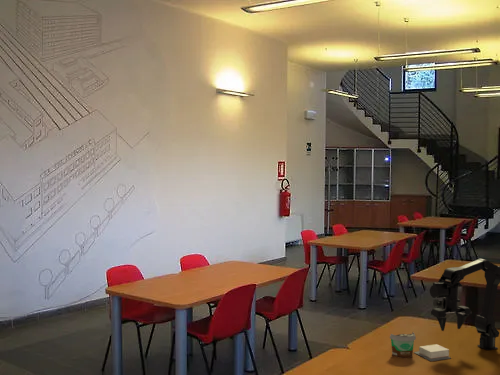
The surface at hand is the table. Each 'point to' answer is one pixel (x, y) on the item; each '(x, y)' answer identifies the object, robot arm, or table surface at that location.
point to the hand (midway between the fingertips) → (450, 329)
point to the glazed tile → (434, 351)
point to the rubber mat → (433, 358)
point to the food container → (402, 345)
